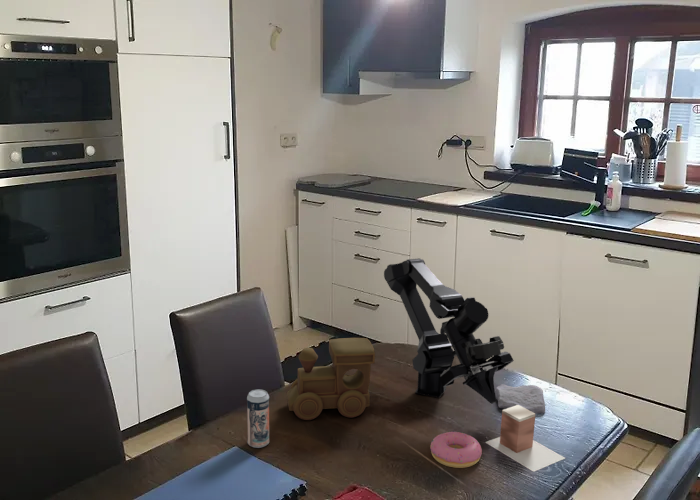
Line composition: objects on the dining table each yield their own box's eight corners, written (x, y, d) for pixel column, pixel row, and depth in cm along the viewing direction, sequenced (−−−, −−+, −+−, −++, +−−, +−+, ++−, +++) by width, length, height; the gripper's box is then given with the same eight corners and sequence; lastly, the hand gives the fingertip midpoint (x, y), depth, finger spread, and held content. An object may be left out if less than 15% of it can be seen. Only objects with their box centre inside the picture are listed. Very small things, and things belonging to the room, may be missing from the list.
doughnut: (491, 459, 147) (493, 441, 146) (458, 478, 140) (459, 459, 139) (452, 439, 155) (453, 422, 154) (419, 456, 148) (419, 438, 147)
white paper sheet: (484, 443, 154) (485, 442, 154) (516, 431, 159) (516, 430, 159) (533, 472, 142) (533, 471, 142) (565, 459, 148) (565, 458, 148)
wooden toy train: (365, 397, 175) (367, 335, 171) (374, 418, 164) (376, 353, 160) (286, 401, 171) (286, 338, 168) (290, 423, 161) (290, 356, 157)
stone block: (547, 422, 168) (541, 397, 177) (549, 406, 166) (542, 381, 175) (497, 420, 169) (494, 395, 178) (498, 404, 167) (495, 380, 176)
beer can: (251, 451, 148) (251, 399, 145) (244, 441, 152) (243, 390, 149) (272, 446, 150) (272, 395, 148) (264, 436, 154) (264, 386, 152)
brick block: (499, 443, 153) (502, 410, 151) (515, 437, 156) (518, 404, 154) (516, 453, 149) (519, 419, 147) (532, 446, 152) (535, 413, 150)
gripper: (451, 333, 152) (483, 398, 146) (510, 319, 162) (543, 379, 156) (426, 355, 160) (456, 417, 154) (484, 340, 171) (514, 398, 164)
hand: (493, 402), depth 157 cm, fingers closed
